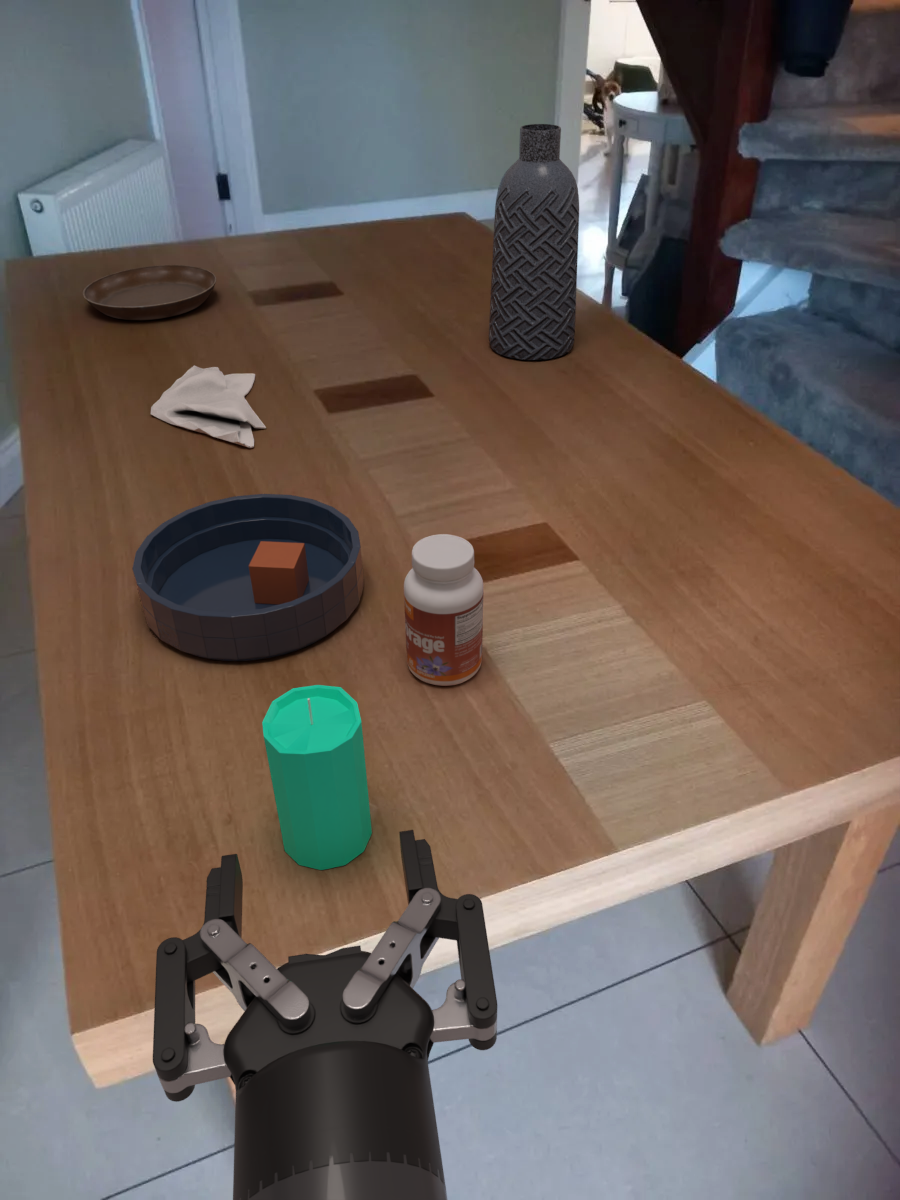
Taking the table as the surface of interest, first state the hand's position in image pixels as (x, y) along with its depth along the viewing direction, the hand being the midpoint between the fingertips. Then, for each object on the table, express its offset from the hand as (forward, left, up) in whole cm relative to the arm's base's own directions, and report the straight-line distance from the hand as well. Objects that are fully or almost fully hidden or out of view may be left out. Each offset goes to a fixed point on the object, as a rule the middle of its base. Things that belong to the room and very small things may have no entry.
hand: (320, 853), depth 45 cm
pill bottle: (+3, +29, -12) cm, 31 cm away
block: (-13, +37, -11) cm, 41 cm away
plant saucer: (-53, +114, -12) cm, 126 cm away
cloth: (-32, +76, -12) cm, 83 cm away
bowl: (-15, +37, -12) cm, 42 cm away
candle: (-3, +11, -12) cm, 17 cm away
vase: (+8, +100, -12) cm, 101 cm away
